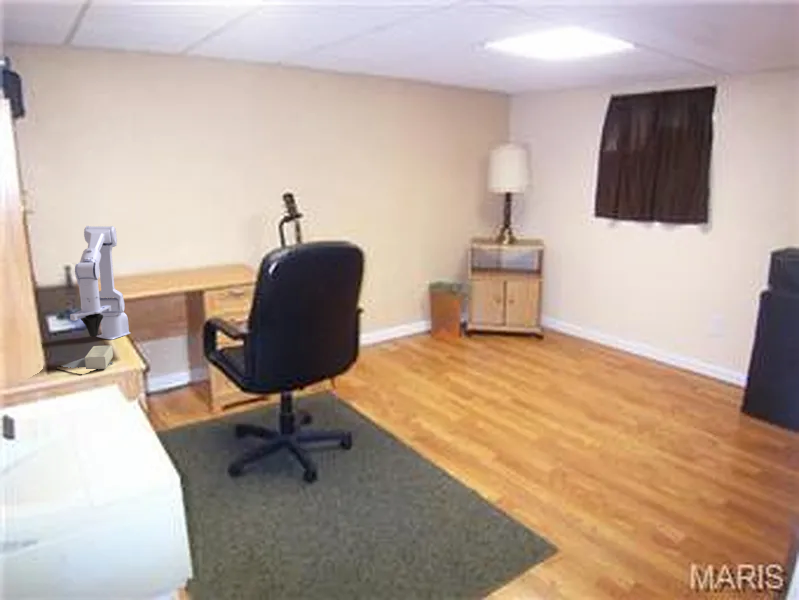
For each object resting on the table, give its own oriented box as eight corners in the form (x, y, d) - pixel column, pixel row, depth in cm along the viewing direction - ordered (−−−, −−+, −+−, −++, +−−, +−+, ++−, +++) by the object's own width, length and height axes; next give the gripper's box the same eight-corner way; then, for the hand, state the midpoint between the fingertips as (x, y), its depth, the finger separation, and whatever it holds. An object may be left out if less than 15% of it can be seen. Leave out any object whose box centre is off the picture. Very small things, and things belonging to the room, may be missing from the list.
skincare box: (94, 357, 199) (84, 370, 188) (93, 345, 198) (83, 357, 186) (114, 356, 201) (105, 369, 189) (112, 344, 199) (104, 356, 188)
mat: (87, 358, 200) (87, 356, 200) (113, 363, 195) (112, 362, 195) (56, 369, 189) (55, 367, 189) (82, 375, 185) (82, 373, 184)
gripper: (79, 303, 185) (83, 343, 188) (116, 294, 198) (119, 331, 201) (63, 300, 187) (68, 340, 191) (101, 292, 201) (104, 328, 204)
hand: (93, 335), depth 196 cm, fingers closed
